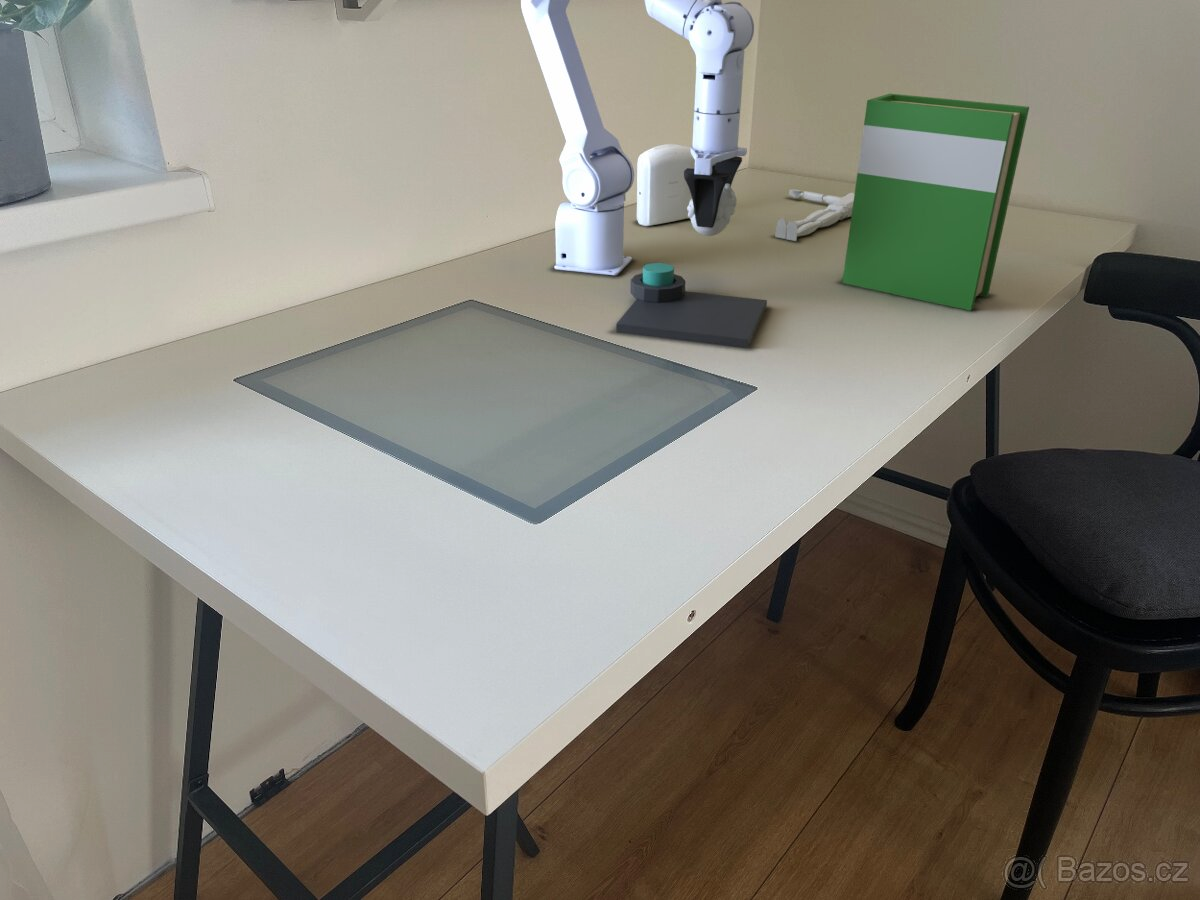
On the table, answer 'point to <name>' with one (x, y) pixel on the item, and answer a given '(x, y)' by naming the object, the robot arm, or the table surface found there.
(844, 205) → the artist's mannequin
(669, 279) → the button
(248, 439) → the table surface
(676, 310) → the scale
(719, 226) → the white rounded lumpy piece
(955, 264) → the hardback book
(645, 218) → the photo printer
